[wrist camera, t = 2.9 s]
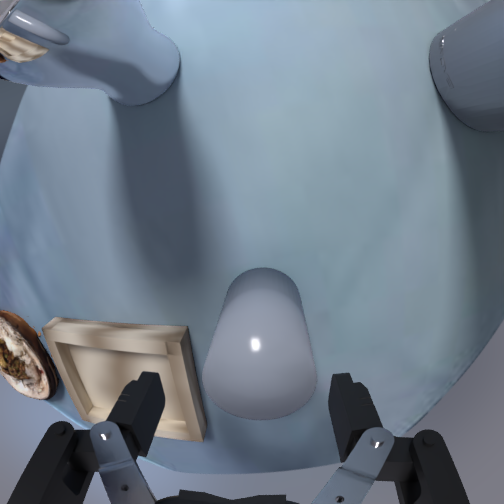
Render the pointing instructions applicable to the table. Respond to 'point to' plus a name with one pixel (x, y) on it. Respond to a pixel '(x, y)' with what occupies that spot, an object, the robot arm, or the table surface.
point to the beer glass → (86, 48)
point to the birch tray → (128, 369)
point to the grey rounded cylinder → (260, 349)
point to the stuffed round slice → (25, 359)
